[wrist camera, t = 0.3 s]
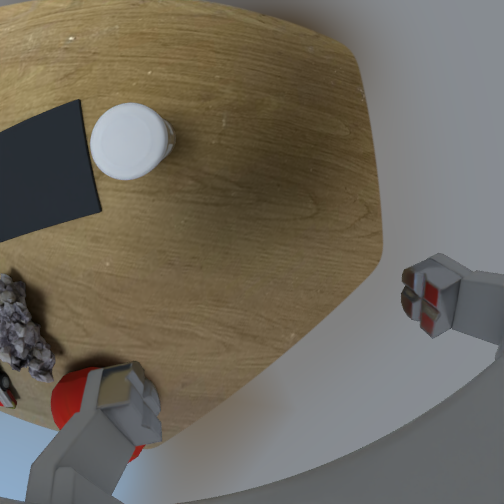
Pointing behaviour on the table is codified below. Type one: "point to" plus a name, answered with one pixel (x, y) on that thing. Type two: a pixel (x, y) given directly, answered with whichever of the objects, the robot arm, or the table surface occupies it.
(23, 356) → the mineral specimen
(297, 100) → the table surface
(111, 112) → the sprinkles bottle
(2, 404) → the toy car
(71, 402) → the tomato
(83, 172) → the mat
